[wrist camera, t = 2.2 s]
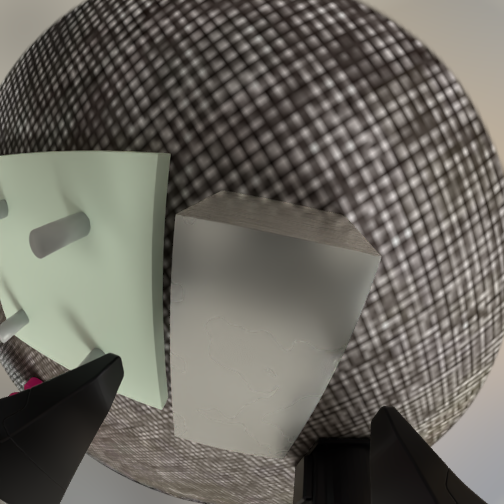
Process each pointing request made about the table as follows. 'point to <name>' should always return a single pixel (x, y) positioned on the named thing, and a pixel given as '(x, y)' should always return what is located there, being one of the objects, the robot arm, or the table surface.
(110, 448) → the table surface
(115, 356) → the robot arm
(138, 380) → the pale green peg board
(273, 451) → the block
